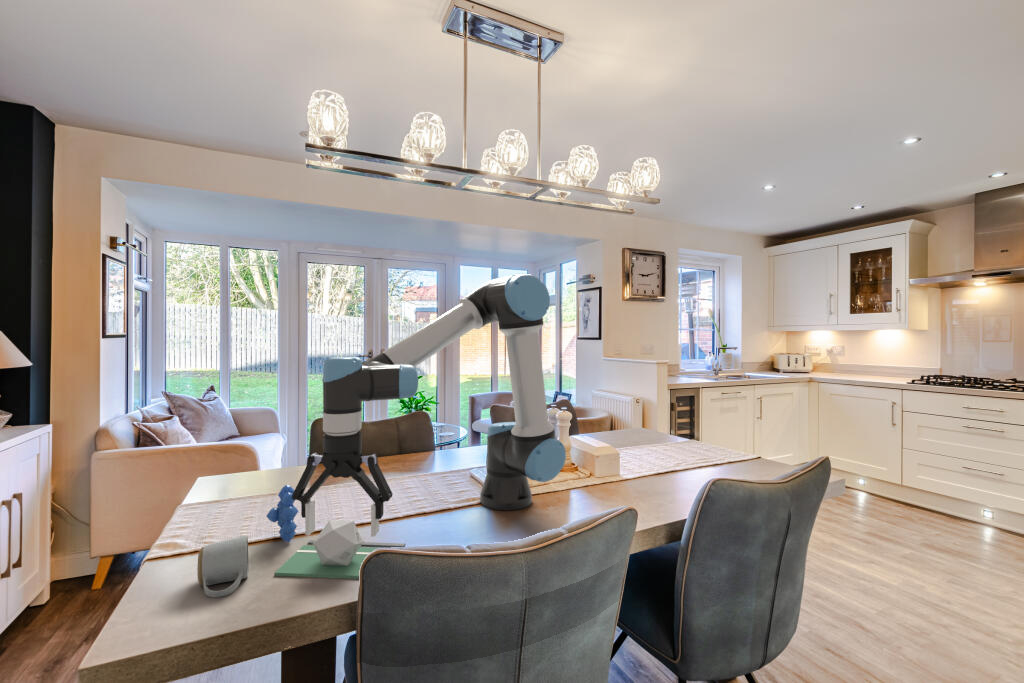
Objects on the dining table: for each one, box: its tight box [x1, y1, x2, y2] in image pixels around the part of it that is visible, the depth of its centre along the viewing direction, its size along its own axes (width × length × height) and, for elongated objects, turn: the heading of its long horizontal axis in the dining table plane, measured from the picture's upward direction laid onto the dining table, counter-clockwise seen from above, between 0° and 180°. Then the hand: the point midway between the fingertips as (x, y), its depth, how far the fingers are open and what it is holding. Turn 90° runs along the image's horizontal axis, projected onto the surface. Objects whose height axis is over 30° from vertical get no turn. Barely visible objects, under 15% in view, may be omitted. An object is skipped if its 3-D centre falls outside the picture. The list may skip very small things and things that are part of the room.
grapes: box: [266, 484, 299, 543], centre depth 107 cm, size 12×7×12 cm, turn 31°
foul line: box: [307, 539, 406, 548], centre depth 105 cm, size 22×1×1 cm, turn 89°
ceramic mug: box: [197, 535, 249, 598], centre depth 87 cm, size 11×8×8 cm
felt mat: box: [274, 544, 379, 580], centre depth 96 cm, size 22×12×1 cm, turn 89°
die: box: [312, 520, 364, 566], centre depth 95 cm, size 8×9×10 cm
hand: (342, 533), depth 95 cm, fingers open, 13 cm apart
